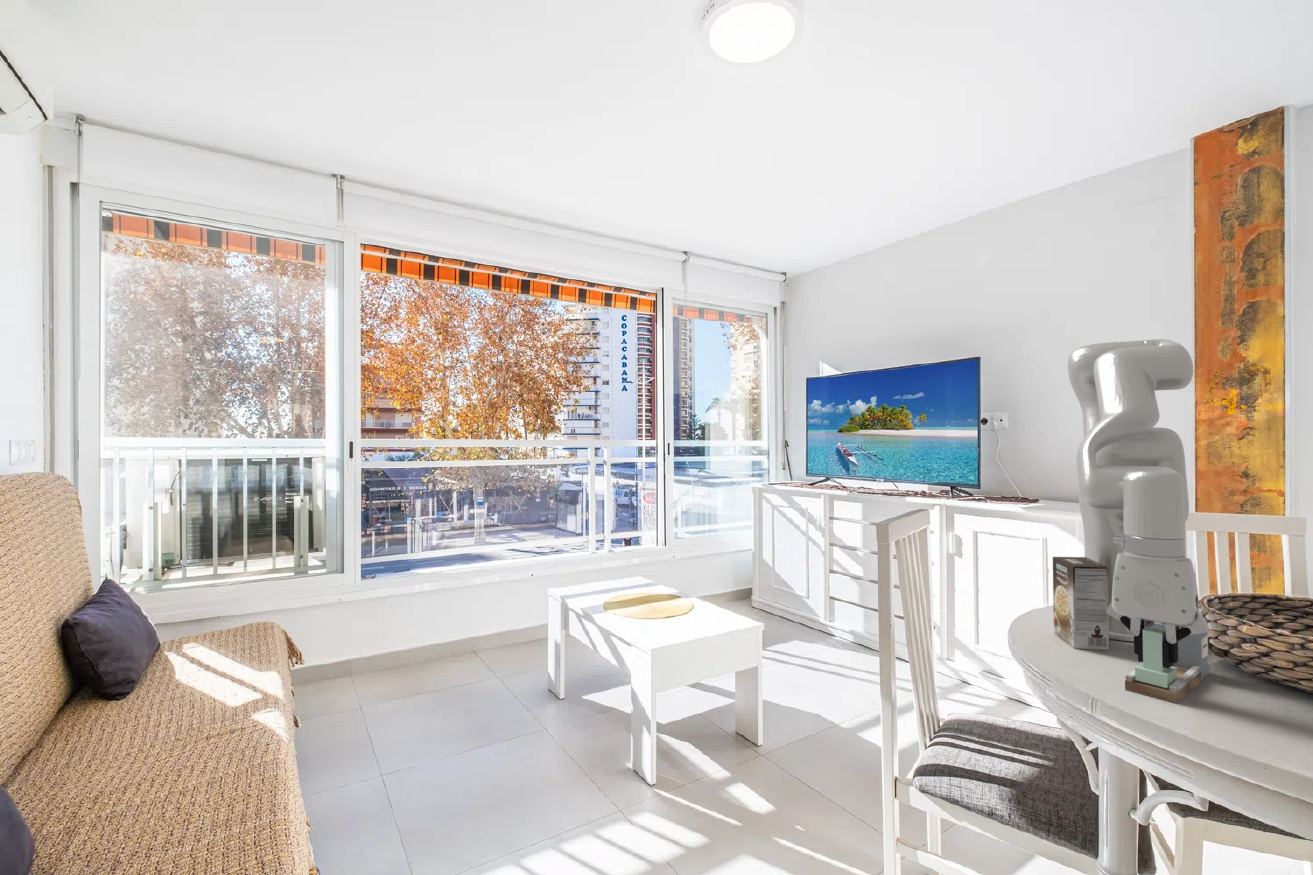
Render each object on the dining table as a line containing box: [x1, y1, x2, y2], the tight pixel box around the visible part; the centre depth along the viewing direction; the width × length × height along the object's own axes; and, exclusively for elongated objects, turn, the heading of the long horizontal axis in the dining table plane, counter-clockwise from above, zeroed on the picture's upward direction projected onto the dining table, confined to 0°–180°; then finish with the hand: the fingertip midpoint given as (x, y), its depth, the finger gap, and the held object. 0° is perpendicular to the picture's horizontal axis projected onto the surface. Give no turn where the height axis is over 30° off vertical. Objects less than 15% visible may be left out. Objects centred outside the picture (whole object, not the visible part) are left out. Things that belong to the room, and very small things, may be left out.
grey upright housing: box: [1153, 622, 1209, 680], centre depth 102 cm, size 5×6×9 cm
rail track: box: [1124, 666, 1202, 705], centre depth 96 cm, size 14×6×2 cm, turn 126°
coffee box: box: [1052, 556, 1110, 651], centre depth 117 cm, size 9×6×16 cm
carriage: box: [1134, 625, 1177, 688], centre depth 94 cm, size 5×4×8 cm
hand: (1155, 661), depth 94 cm, fingers closed on carriage, 2 cm apart
